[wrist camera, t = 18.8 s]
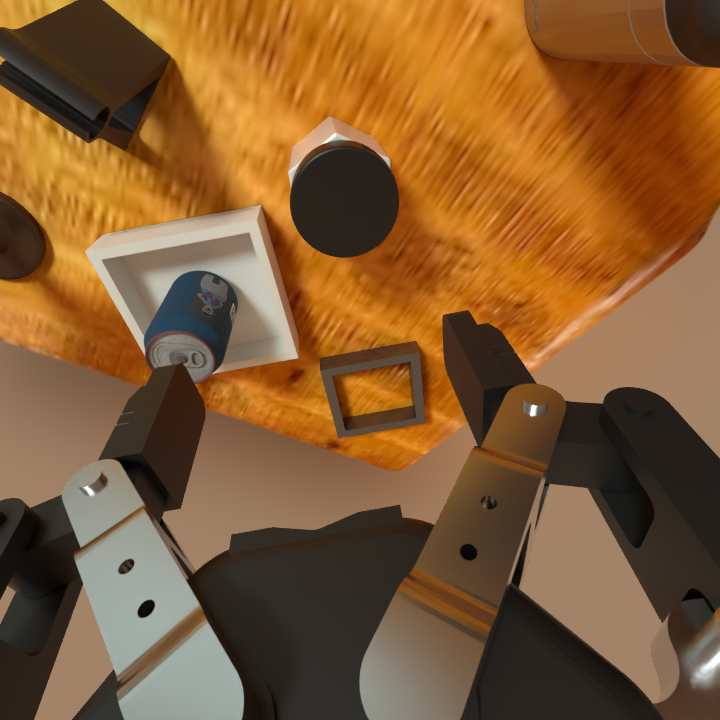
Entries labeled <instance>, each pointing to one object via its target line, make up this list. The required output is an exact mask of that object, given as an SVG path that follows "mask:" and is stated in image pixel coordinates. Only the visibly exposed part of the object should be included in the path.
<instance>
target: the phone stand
mask: <svg viewBox="0 0 720 720" xmlns="http://www.w3.org/2000/svg"><path fill="white" fill-rule="evenodd" d="M0 56H1V57H2V58H4V59H5V60H6V61H3V62H2V65H0V85H1V86H3V87H4V88H6V89H7V90H9V91H10V92H12V93H13V94H15V95H16V96H18V97H19V98H21V99H22V100H24V101H25V102H27V103H28V104H30V105H31V106H33V107H34V108H36V109H37V110H39V111H40V112H42V113H43V114H45V115H46V116H48V117H49V118H51V119H52V120H54V121H55V122H57V123H58V124H60V125H61V126H63V127H65V128H66V129H68V130H69V131H71V132H72V133H74V134H75V135H77V136H78V137H80V138H81V139H83V140H84V141H86V142H87V143H91V142H93V141H94V140H96V139H98V138H102V139H104V140H106V141H107V142H109V143H111V144H113V145H115V146H117V147H118V148H120V149H122V150H124V151H125V150H126V148H127V147H128V144H129V142H130V140H131V138H132V136H133V134H134V132H135V130H136V128H137V126H138V124H139V122H140V120H141V118H142V116H143V113H144V111H145V109H146V106H147V104H148V103H149V101H150V99H151V97H152V95H153V93H154V91H155V89H156V87H157V85H158V82H159V80H160V78H161V76H162V74H163V72H164V70H165V68H166V66H167V64H168V62H169V60H170V57H171V56H170V55H169V54H168V53H166V52H165V51H164V50H163V49H162V48H160V47H159V46H158V45H157V44H155V43H154V42H153V41H152V40H151V39H149V38H148V37H147V36H146V35H145V34H143V33H142V32H141V31H140V30H138V29H137V28H136V27H135V26H134V25H132V24H131V23H130V22H129V21H127V20H126V19H125V18H124V17H123V16H121V15H120V14H119V13H118V12H116V11H115V10H114V9H113V8H112V7H110V6H109V5H108V4H107V3H106V2H104V1H103V0H77V1H75V2H73V3H71V4H69V5H67V6H65V7H63V8H61V9H59V10H57V11H55V12H53V13H51V14H48V15H46V16H44V17H42V18H40V19H38V20H36V21H34V22H32V23H30V24H28V25H26V26H24V27H22V28H19V29H8V28H5V27H0Z"/></svg>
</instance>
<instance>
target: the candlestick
mask: <svg viewBox="0 0 720 720" xmlns="http://www.w3.org/2000/svg"><path fill="white" fill-rule="evenodd" d="M45 252H46V245H45V239H44V236H43V233H42V231H41V229H40V227H39V225H38V223H37V222H36V221H35V219H34V218H33V217H32V215H31V214H30V213H29V212H28V211H27V210H26V209H25V208H24V207H23V206H21V205H20V204H19V203H18V202H16V201H15V200H14V199H12V198H10V197H9V196H7V195H5V194H4V193H2V192H0V279H18V278H21V277H25V276H27V275H28V274H30V273H32V272H33V271H34V270H36V269H37V268H38V267H39V266H40V264H41V263H42V261H43V259H44V257H45Z"/></svg>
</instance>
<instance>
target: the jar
mask: <svg viewBox="0 0 720 720" xmlns="http://www.w3.org/2000/svg"><path fill="white" fill-rule="evenodd" d="M288 175H289V181H290V186H291V194H290V210H291V215H292V219H293V222H294V224H295V226H296V228H297V230H298V232H299V233H300V235H301V236H302V238H303V239H304V240H305V241H306V242H307V243H308V244H309V245H310V246H312V247H313V248H315V249H316V250H318V251H320V252H322V253H324V254H326V255H330V256H334V257H341V258H347V257H355V256H359V255H362V254H365V253H367V252H369V251H371V250H372V249H374V248H375V247H377V246H378V245H379V244H380V243H381V242H382V241H383V240H384V239H385V238H386V237H387V236H388V234H389V233H390V231H391V230H392V228H393V226H394V223H395V221H396V218H397V214H398V208H399V194H398V188H397V184H396V181H395V178H394V175H393V174H392V173H391V161H390V159H389V157H388V156H387V155H386V153H385V152H384V150H383V149H382V148H381V146H380V145H379V143H378V142H377V141H376V139H375V138H374V137H372V136H370V135H368V134H366V133H364V132H362V131H360V130H358V129H356V128H354V127H352V126H350V125H348V124H346V123H344V122H342V121H340V120H338V119H336V118H334V117H332V116H329V117H328V118H327V119H326V120H325V121H323V122H322V123H321V124H320V125H319V126H318V127H316V128H315V129H314V130H313V131H312V132H310V133H309V134H308V135H307V136H306V137H305V138H303V139H302V140H301V141H300V142H299V143H298V144H296V145H295V146H294V147H293V148H292V152H291V158H290V165H289V171H288Z"/></svg>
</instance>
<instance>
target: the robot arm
mask: <svg viewBox="0 0 720 720" xmlns="http://www.w3.org/2000/svg"><path fill="white" fill-rule="evenodd" d="M525 18H526V23H527V28H528V31H529V33H530V35H531V38H532V40H533V41H534V43H535V44H536V45H537V47H538V48H539V49H540V50H541V51H543V52H544V53H545V54H547V55H549V56H552V57H554V58H558V59H573V60H584V61H601V62H619V63H637V64H655V65H678V66H696V67H715V68H720V0H525ZM443 349H444V362H445V367H446V371H447V374H448V376H449V379H450V381H451V384H452V386H453V388H454V391H455V393H456V395H457V398H458V400H459V402H460V405H461V407H462V409H463V412H464V414H465V416H466V419H467V421H468V423H469V426H470V428H471V430H472V433H473V435H474V438H475V440H476V442H477V445H478V446H475V447H474V448H473V449H472V451H471V452H470V454H469V456H468V458H467V460H466V462H465V464H464V466H463V468H462V470H461V473H460V475H459V476H458V479H457V481H456V483H455V485H454V487H453V489H452V491H451V493H450V495H449V497H448V499H447V501H446V503H445V505H444V507H443V509H442V511H441V513H440V515H439V517H438V519H437V522H436V524H435V525H433V524H431V523H428V522H425V521H421V520H416V519H411V518H402V513H401V508H400V505H396V506H391V507H385V508H380V509H374V510H368V511H362V512H358V513H355V514H353V515H351V516H348V517H346V518H344V519H341V520H339V521H337V522H334V523H332V524H330V525H327V526H325V527H323V528H320V529H317V530H302V529H289V528H275V527H272V528H266V529H261V530H255V531H250V532H244V533H238V534H232V536H231V542H230V548H229V550H227V551H224V552H223V553H221V554H219V555H217V556H215V557H214V558H213V559H211V560H210V561H208V562H207V563H205V564H204V565H203V566H202V567H201V568H199V569H198V570H197V571H196V570H195V569H194V567H193V565H192V564H191V562H190V561H189V559H188V557H187V556H186V554H185V553H184V551H183V549H182V548H181V546H180V545H179V543H178V541H177V540H176V538H175V537H174V535H173V533H172V532H171V530H170V528H169V527H168V525H167V524H166V522H165V521H164V520H163V519H162V516H163V512H164V511H169V510H176V509H180V508H181V505H182V502H183V498H184V494H185V491H186V487H187V483H188V479H189V476H190V472H191V469H192V465H193V461H194V458H195V454H196V450H197V447H198V443H199V440H200V436H201V432H202V429H203V425H204V421H205V406H204V402H203V400H202V397H201V396H200V394H199V392H198V390H197V388H196V386H195V384H194V382H193V380H192V378H191V376H190V374H189V372H188V370H187V368H186V367H185V366H184V365H183V364H182V363H179V364H173V365H168V366H162V367H157V368H155V369H154V370H153V372H152V374H151V376H150V379H149V381H148V383H147V385H146V386H143V387H141V388H140V389H139V390H138V391H137V392H136V393H135V394H134V395H133V396H132V397H131V398H130V399H129V400H128V402H127V404H126V406H125V408H124V410H123V412H122V413H123V415H121V416H120V418H119V420H118V422H117V426H115V428H114V430H113V432H112V434H111V436H110V438H109V440H108V442H107V444H106V446H105V448H104V450H103V452H102V454H101V455H100V457H99V460H98V461H96V462H94V463H91V464H89V465H87V466H86V467H84V468H83V469H81V470H80V471H78V472H77V473H76V474H75V475H74V476H73V477H72V478H71V479H70V480H69V481H68V483H67V484H66V486H65V488H64V489H63V492H62V495H60V496H58V497H55V498H53V499H50V500H48V501H46V502H43V503H41V504H39V505H36V506H34V507H31V508H30V507H29V506H27V505H26V504H25V503H24V502H23V501H22V500H20V499H17V498H10V499H5V500H2V501H0V599H1V597H2V595H3V593H4V591H5V589H6V587H7V586H9V587H10V588H11V589H13V590H14V591H16V593H15V595H14V597H13V599H12V601H11V603H10V605H9V607H8V609H7V612H6V614H5V616H4V618H3V620H2V622H1V624H0V720H34V718H35V715H36V713H37V710H38V707H39V704H40V702H41V699H42V696H43V693H44V691H45V688H46V685H47V682H48V680H49V677H50V674H51V671H52V669H53V666H54V663H55V660H56V657H57V655H58V652H59V649H60V646H61V644H62V641H63V638H64V635H65V633H66V630H67V627H68V624H69V621H70V619H71V616H72V613H73V610H74V608H75V605H76V602H77V599H78V597H79V594H80V591H81V588H82V585H83V584H84V587H85V590H86V593H87V595H88V598H89V600H90V604H91V606H92V609H93V612H94V614H95V617H96V620H97V623H98V626H99V629H100V631H101V634H102V637H103V640H104V643H105V645H106V648H107V651H108V654H109V657H110V659H111V662H112V665H113V668H114V670H113V671H112V672H111V673H110V675H109V676H108V677H107V678H106V679H105V681H104V682H103V683H102V684H101V685H100V687H99V688H98V689H97V690H96V691H95V693H94V694H93V695H92V696H91V698H90V699H89V700H88V701H87V702H86V704H85V705H84V706H83V707H82V708H81V710H80V711H79V712H78V713H77V714H76V716H75V717H74V718H73V719H72V720H720V458H719V457H718V456H717V455H716V454H715V453H714V452H713V451H712V450H711V449H710V447H709V446H708V445H707V444H706V443H705V442H704V441H703V440H702V439H701V437H700V436H699V435H698V434H697V433H696V432H695V431H694V430H693V429H692V427H691V426H690V425H689V424H688V423H687V422H686V421H685V420H684V419H683V418H682V417H681V415H680V414H679V413H678V412H677V411H676V410H675V409H674V408H673V407H672V406H671V405H670V403H669V402H668V401H667V400H665V399H664V398H663V397H661V396H659V395H658V394H656V393H653V392H651V391H648V390H645V389H640V388H634V387H623V388H618V389H614V390H612V391H610V392H609V393H608V394H607V395H606V396H605V398H604V401H603V404H598V403H581V402H569V401H565V400H564V398H563V397H562V395H561V394H559V393H558V392H557V391H556V390H554V389H552V388H550V387H548V386H544V385H540V384H537V383H536V382H535V380H534V379H533V378H532V376H531V375H530V373H529V372H528V370H527V369H526V367H525V366H524V364H523V363H522V361H521V360H520V358H519V357H518V355H517V354H516V353H515V352H514V349H513V348H512V346H511V345H510V344H509V343H508V341H507V339H506V338H505V336H504V335H503V333H502V332H501V331H500V330H498V329H497V328H495V327H494V326H492V325H490V324H489V323H486V324H481V325H477V323H476V322H475V320H474V318H473V317H472V315H471V314H470V312H469V311H468V310H466V311H461V312H455V313H450V314H444V315H443ZM551 484H557V485H566V486H575V487H584V488H588V490H589V491H590V493H591V495H592V497H593V499H594V501H595V502H596V504H597V506H598V508H599V509H600V511H601V513H602V515H603V517H604V519H605V521H606V522H607V524H608V526H609V528H610V530H611V531H612V533H613V535H614V537H615V538H616V540H617V542H618V544H619V546H620V548H621V549H622V551H623V553H624V555H625V557H626V559H627V560H628V562H629V564H630V565H631V567H632V569H633V571H634V573H635V575H636V577H637V578H638V580H639V582H640V584H641V586H642V587H643V589H644V591H645V593H646V595H647V596H648V598H649V600H650V602H651V604H652V605H653V607H654V609H655V611H656V613H657V615H658V616H659V618H660V620H661V622H662V625H661V626H660V628H659V629H658V631H657V632H656V634H655V635H654V637H653V640H652V644H651V656H652V661H653V663H654V666H655V669H656V672H657V675H658V678H659V682H660V690H661V695H660V702H659V703H655V704H653V703H652V702H651V701H650V700H649V698H648V697H647V696H646V695H645V694H644V693H643V691H642V690H641V689H640V688H639V687H638V686H637V685H636V684H635V683H634V682H632V680H631V679H629V678H628V677H627V676H626V675H625V674H624V673H622V672H621V671H620V670H619V669H618V668H616V667H615V666H614V665H612V664H611V663H610V662H609V661H608V660H606V659H605V658H604V657H603V656H602V655H600V654H599V653H598V652H597V651H595V650H594V649H593V648H592V647H590V646H589V645H588V644H587V643H585V642H584V641H583V640H582V639H580V638H579V637H578V636H577V635H576V634H574V633H573V632H572V631H571V630H569V629H568V628H567V627H566V626H564V625H563V624H562V623H561V622H559V621H558V620H557V619H555V618H554V617H553V616H552V615H551V614H550V613H548V612H547V611H546V610H545V609H543V608H542V607H541V606H540V605H538V604H537V603H536V602H535V601H533V600H532V599H531V598H529V596H527V595H526V594H525V593H524V592H522V591H521V590H520V588H521V585H522V582H523V578H524V575H525V572H526V568H527V564H528V561H529V556H530V552H531V549H532V545H533V541H534V537H535V534H536V531H537V528H538V524H539V521H540V518H541V515H542V511H543V508H544V505H545V501H546V498H547V495H548V492H549V488H550V485H551Z"/></svg>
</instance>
